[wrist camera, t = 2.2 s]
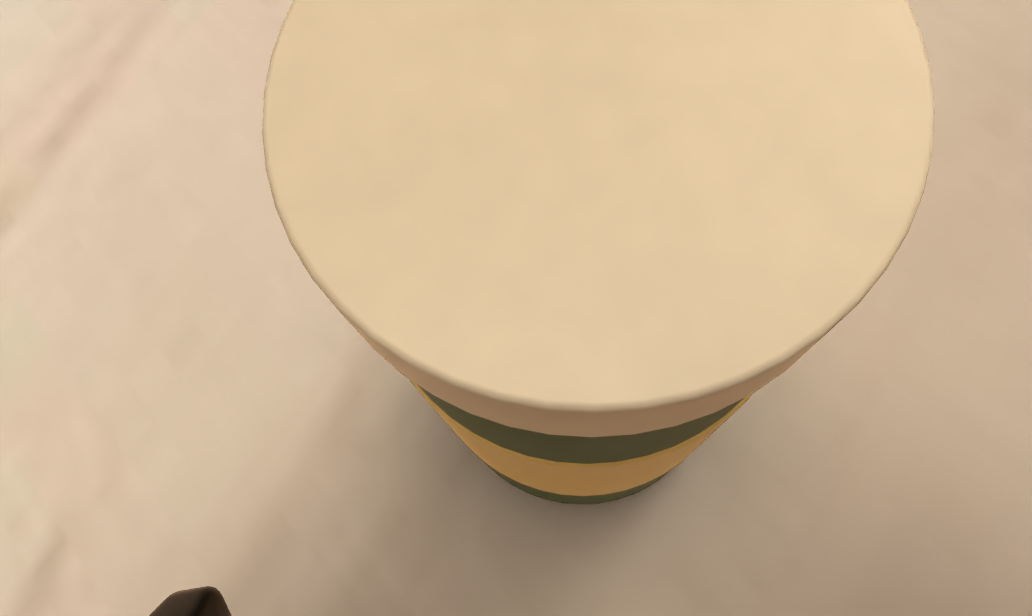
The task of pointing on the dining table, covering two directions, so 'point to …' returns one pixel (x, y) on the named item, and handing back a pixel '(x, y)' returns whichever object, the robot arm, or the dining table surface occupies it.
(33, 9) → the dining table surface
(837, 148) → the cheese shaker
